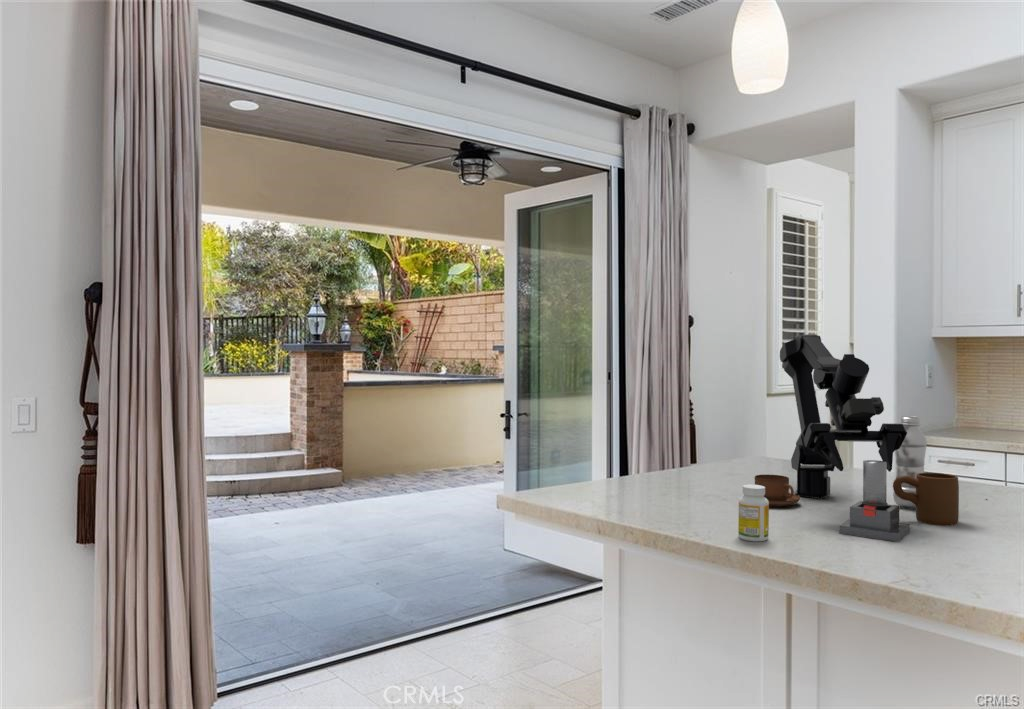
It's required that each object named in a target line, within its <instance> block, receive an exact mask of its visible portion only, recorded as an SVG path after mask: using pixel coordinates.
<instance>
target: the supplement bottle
mask: <svg viewBox="0 0 1024 709" xmlns="http://www.w3.org/2000/svg"><path fill="white" fill-rule="evenodd" d="M742 494H743V496H740V498H739V499H738V521H737V522H738V531H737V532H738V533H737V535H738V537H739V539H742V540H744V541H748V542H766V541H767V540H768V539H769V529H770V527H769V525H770V524H769V522H770V520H769V519H770V518H769V516H770V506H769V501H768V500H767V499H766V498H765V497H764V495H765V487H764V486H760V485H755V484H744V485H742Z"/></svg>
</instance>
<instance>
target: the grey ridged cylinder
mask: <svg viewBox="0 0 1024 709" xmlns="http://www.w3.org/2000/svg"><path fill="white" fill-rule="evenodd" d="M887 471H888V470H887V462H885V461H882V460H878V459H877V460H876V459H873V460H872V459H867V460H865V459H864V460H863V462H862V472H863V473H862V492H863V493H862V500H861V501H862V504H863V507H864V506H865V505H869V506H877V509H880V510H886V507H887V506H888V502H887V479H888V478H887Z"/></svg>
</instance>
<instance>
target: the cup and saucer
mask: <svg viewBox="0 0 1024 709" xmlns="http://www.w3.org/2000/svg"><path fill="white" fill-rule="evenodd" d="M754 485H760V486H764V487H765V495H764V497H765V498H766V499H767V500H768V501H769V507H773V508H774V507H788V506H789V507H790V506H793V505H796V504H798V502H800V500H801V496H797V495H795V494H794V493H795V490H794V488H793V486H792V485H791V484H790V478H789V476H785V475H782V474H781V475H779V474H757V475H754ZM789 492H790V493H789Z"/></svg>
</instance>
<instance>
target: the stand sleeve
mask: <svg viewBox="0 0 1024 709" xmlns="http://www.w3.org/2000/svg"><path fill="white" fill-rule="evenodd" d="M862 501H863V500H859V501H857V502H856V503H854V504H852V505H850V506H849V519H848V520H846V521H844V522H843V523H840V524H839V525H838V534H843V535H848V536H856V537H862V538H869V539H875V540H881V541H889V542H894V543H898V542H899V541H900V540H902V539H903V538H904V537H905V536H906V535H907V533H908V534H909V533H910V531H911V523H906V522H900V506H899V505H897V504H888V506H887V507H886V510H880V509H877V506H869V505H865V506H864V507H863V504H862Z"/></svg>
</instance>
